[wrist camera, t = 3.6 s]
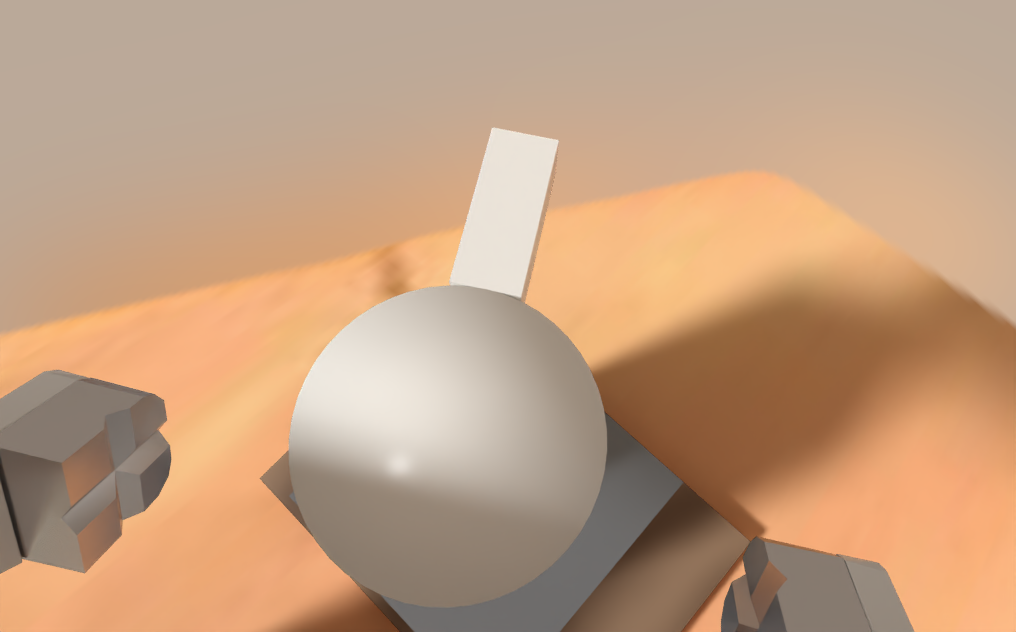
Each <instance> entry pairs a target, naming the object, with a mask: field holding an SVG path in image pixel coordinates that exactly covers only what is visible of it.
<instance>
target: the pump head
mask: <svg viewBox="0 0 1016 632" xmlns="http://www.w3.org/2000/svg"><path fill="white" fill-rule="evenodd" d="M558 144H559V140H555V139H550V138H545V137H539V136H534V135H529V134H524V133H518V132H513V131H508V130H503V129H498V128H492V131H491V134H490V138H489V142H488V145H487V149H486V152H485V156H484V159H483V163H482V167H481V170H480V174H479V178H478V181H477V184H476V188H475V192H474V195H473V199H472V202H471V206H470V209H469V213H468V216H467V220H466V224H465V227H464V231H463V234H462V238H461V241H460V245H459V249H458V252H457V256H456V259H455V263H454V266H453V270H452V274H451V277H450V281H449V282H450V286H439V287H429V288H424V289H419V290H415V291H410V292H407V293H404V294H401V295H398V296H396V297H393V298H390V299H388V300H386V301H384V302H382V303H380V304H378V305H376V306H374V307H372V308H371V309H369V310H367V311H366V312H364V313H363V314H361V315H360V316H358V317H357V318H355V319H354V320H353V321H352V322H351V323H349V324H348V325H347V326H346V327H345V328H344V329H342V330H341V331H340V332H339V333H338V334H337V335H336V336H335V338H334V339H333V340H332V341H331V342H330V343H329V344H328V345H327V346H326V348H325V349H324V350H323V352H322V353H321V354H320V356H319V357H318V358H317V360H316V361H315V363H314V365H313V366H312V368H311V370H310V372H309V374H308V375H307V377H306V379H305V381H304V383H303V386H302V388H301V391H300V393H299V396H298V398H297V401H296V405H295V409H294V413H293V416H292V421H291V428H290V435H289V467H290V475H291V483H292V486H293V490H294V494H295V498H296V502H297V504H298V507H299V509H300V512H301V514H302V516H303V519H304V521H305V523H306V525H307V527H308V528H309V530H310V532H311V534H312V535H313V537H314V539H315V540H316V542H317V543H318V544H319V546H320V547H321V548H322V549H323V551H324V552H325V553H326V554H327V556H328V557H329V558H330V559H331V560H332V561H333V562H334V563H335V564H336V565H337V566H338V567H339V568H340V569H342V570H343V571H344V572H345V573H346V574H347V575H349V576H350V577H352V578H353V579H354V580H356V581H357V582H359V583H360V584H362V585H363V586H365V587H367V588H369V589H371V590H373V591H375V592H377V593H379V594H381V595H383V596H385V597H388V598H391V599H394V600H397V601H400V602H403V603H408V604H413V605H419V606H424V607H445V608H450V607H459V606H468V605H474V604H478V603H482V602H486V601H490V600H493V599H496V598H498V597H501V596H503V595H506V594H508V593H511V592H513V591H515V590H517V589H518V588H520V587H522V586H524V585H525V584H527V583H529V582H531V581H532V580H534V579H535V578H536V577H538V576H539V575H540V574H542V573H543V572H544V571H545V570H547V569H548V568H549V567H551V566H552V565H553V564H554V563H555V562H556V561H557V560H558V559H559V558H560V557H561V556H562V555H563V554H564V552H565V551H566V550H567V549H568V548H569V547H570V545H571V544H572V543H573V541H574V540H575V539H576V537H577V536H578V535H579V533H580V532H581V530H582V528H583V527H584V525H585V523H586V521H587V519H588V518H589V516H590V514H591V512H592V510H593V507H594V504H595V502H596V499H597V497H598V494H599V492H600V488H601V484H602V480H603V476H604V472H605V464H606V455H607V427H606V420H605V413H604V407H603V404H602V400H601V396H600V393H599V389H598V387H597V384H596V382H595V380H594V377H593V375H592V373H591V370H590V369H589V367H588V365H587V363H586V362H585V360H584V358H583V357H582V355H581V353H580V352H579V351H578V349H577V348H576V347H575V345H574V344H573V343H572V342H571V340H570V339H569V338H568V337H567V336H566V335H565V334H564V333H563V332H562V331H561V330H560V329H559V328H558V327H557V326H556V325H555V324H554V323H553V322H552V321H550V320H549V319H548V318H546V317H545V316H544V315H543V314H541V313H540V312H539V311H537V310H535V309H533V308H532V307H530V306H528V305H527V304H525V300H526V295H527V291H528V287H529V283H530V279H531V274H532V270H533V266H534V262H535V258H536V253H537V249H538V245H539V241H540V237H541V232H542V228H543V224H544V220H545V216H546V212H547V207H548V203H549V199H550V195H551V191H552V186H553V182H554V178H555V171H556V162H557V153H558Z"/></svg>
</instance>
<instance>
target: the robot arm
mask: <svg viewBox="0 0 1016 632" xmlns="http://www.w3.org/2000/svg"><path fill="white" fill-rule="evenodd" d="M166 421H167V416H166V410H165V404H164V400H163V399H161V398H160V397H158V396H156V395H155V394H152V393H148V392H144V391H140V390H136V389H133V388H129V387H125V386H121V385H117V384H113V383H110V382H106V381H102V380H98V379H94V378H87V377H84V376H80V375H76V374H72V373H69V372H65V371H61V370H53V371H45V372H43V373H41V374H40V375H38V376H36V377H35V378H33V379H32V380H30V381H28V382H27V383H25V384H24V385H22V386H20V387H19V388H17V389H16V390H14V391H12V392H11V393H9V394H7V395H6V396H4V397H3V398H1V399H0V574H1V573H3V572H5V571H6V570H8V569H10V568H12V567H14V566H16V565H18V564H20V563H22V559H26V560H30V561H34V562H39V563H43V564H47V565H52V566H56V567H60V568H65V569H69V570H73V571H78V572H82V573H86V572H87V570H88V569H89V568H90V567H91V566H92V565H93V564H94V563H95V562H96V561H97V560H98V559H99V558H100V557H101V556H102V555H103V554H104V553H105V552H106V551H107V550H108V549H109V548H110V547H111V546H112V544H113V543H114V542H115V541H116V540H117V539H118V538H119V537H120V536H121V535H122V520H124V519H127V518H129V517H131V516H134V515H136V514H138V513H141V512H143V511H145V510H146V509H147V508H148V507H149V505H150V504H151V503H152V502H153V501H154V500H155V499H156V498H157V497H158V496H159V494H160V492H161V490H162V488H163V486H164V484H165V482H166V480H167V478H168V476H169V470H170V464H171V452H170V445H169V444H168V442H167V441H166V440H165V438H164V437H163V436H162V434H161V433H160V432H159V429H160V428H161V426H162V425H163V424H164V423H165V422H166ZM743 562H744V567H745V572H746V575H744V576H742V577H740V578H738V579H736V580H734V581H733V582H732V583H731V586H730V588H729V591H728V593H727V596H726V598H725V601H724V607H723V613H722V619H721V632H914V630H913V627H912V625H911V623H910V621H909V619H908V617H907V614H906V612H905V610H904V608H903V606H902V603H901V601H900V599H899V597H898V595H897V593H896V590H895V588H894V586H893V584H892V582H891V579H890V577H889V575H888V573H887V571H886V570H885V569H884V568H883V567H882V566H881V565H880V564H879V563H877V562H872V561H868V560H863V559H858V558H854V557H849V556H844V555H840V554H836V555H834V554H832V553H827V552H823V551H819V550H814V549H810V548H806V547H801V546H797V545H792V544H788V543H784V542H779V541H775V540H771V539H766V538H762V537H757V536H756V537H755V538H754V539H753V540H752V541H751V542H750V543H749V545H748V547H747V549H746V552H745V554H744V556H743Z"/></svg>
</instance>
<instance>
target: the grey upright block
mask: <svg viewBox="0 0 1016 632" xmlns="http://www.w3.org/2000/svg"><path fill="white" fill-rule="evenodd" d="M604 413H605V412H604ZM605 420H606V427H607V455H606V464H605V472H604V476H603V480H602V484H601V488H600V492H599V494H598V497H597V499H596V502H595V504H594V507H593V510H592V512H591V514H590V516H589V518H588V519H587V521H586V523H585V525H584V527H583V528H582V530H581V532H580V533H579V535H578V536H577V537H576V539H575V540H574V541H573V543H572V544H571V545H570V547H569V548H568V549H567V550H566V551H565V552H564V554H563V555H562V556H561V557H560V558H559V559H558V560H557V561H556V562H555V563H554V564H553V565H552V566H551V567H549V568H548V569H547V570H545V571H544V572H543V573H542V574H540V575H539V576H538V577H536V578H535V579H534V580H532V581H531V582H529V583H527V584H525V585H524V586H522V587H520V588H518V589H517V590H515V591H513V592H511V593H508V594H506V595H503V596H501V597H498V598H496V599H493V600H490V601H486V602H482V603H478V604H474V605H468V606H459V607H450V608H445V607H424V606H419V605H413V604H408V603H403V602H400V601H397V600H394V599H391V598H388V597H385V596H383V595H381V594H380V595H381V596H382V597H383V598H384V599H385V600H386V602H387V603H388V604H389V605H390V606H391V607H392V608H393V609H394V610H395V611H396V612H397V613H398V614H399V616H400V617H401V618H402V619H403V620H404V621H405V622H406V623H407V624H408V625H409V626H410V627H411V629H412V630H413V631H414V632H560V631H561V630H562V628H563V627H564V626H565V625H566V624H567V622H568V621H569V620H570V619H571V617H572V616H573V615H574V614H575V613H576V611H577V610H578V609H579V608H580V607H581V605H582V604H583V603H584V602H585V601H586V599H587V598H588V597H589V596H590V595H591V593H592V592H593V591H594V590H595V589H596V587H597V586H598V585H599V584H600V582H601V581H602V580H603V579H604V578H605V576H606V575H607V574H608V573H609V572H610V570H611V569H612V568H613V567H614V566H615V564H616V563H617V562H618V561H619V560H620V558H621V557H622V556H623V555H624V554H625V552H626V551H627V550H628V549H629V547H630V546H631V545H632V544H633V543H634V541H635V540H636V539H637V538H638V537H639V535H640V534H641V533H642V532H643V531H644V529H645V528H646V527H647V526H648V525H649V523H650V522H651V521H652V520H653V518H654V517H655V516H656V515H657V514H658V512H659V511H660V510H661V509H662V508H663V506H664V505H665V504H666V503H667V502H668V500H669V499H670V498H671V497H672V496H673V494H674V493H675V492H676V491H677V490H678V488H679V487H680V486H681V485H682V483H683V481H682V480H680V479H679V478H678V477H677V476H676V475H675V474H674V473H673V472H671V471H670V470H669V469H668V468H667V467H666V466H665V465H664V464H662V463H661V462H660V461H659V460H658V459H657V458H656V457H655V456H653V455H652V454H651V453H650V452H649V451H648V450H647V449H646V448H644V447H643V446H642V445H641V444H640V443H639V442H638V441H637V440H636V439H634V438H633V437H632V436H631V435H630V434H629V433H628V432H627V431H625V430H624V429H623V428H622V427H621V426H620V425H619V424H618V423H616V422H615V421H614V420H613V419H612V418H611V417H610V416H609V415H607V414H606V413H605ZM289 497H290V498H291V499H292V500H293V501H294V502H295V503H296V504H297V502H296V498H295V494H294V491H293V492H292V493H291V494H290V495H289ZM297 505H298V504H297Z"/></svg>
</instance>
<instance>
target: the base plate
mask: <svg viewBox="0 0 1016 632" xmlns="http://www.w3.org/2000/svg"><path fill="white" fill-rule="evenodd" d="M644 448H645V447H644ZM653 456H654V455H653ZM260 479H261V480H262V482H263V483H264V484H265V485H266V486H267V487H268V488H269V489H270V490H271V491H272V492H273V494H274V495H275V496H276V497H277V498H278V499H279V500H280V501H281V502H282V503H283V504H284V505H285V507H286V508H287V509H288V510H289V511H290V512H291V513H292V514H293V515H294V516H295V517H296V519H297V520H298V521H299V522H300V523H301V524H302V525H303V526H304V527H305V528H306V529H307V531H308V532H309V533H310V534H311V532H310V530H309V528H308V527H307V525H306V523H305V521H304V519H303V516H302V514H301V512H300V509H299V507H298V505H297V504H296V503H295V502H294V501H293V500H292V499H291V498H290V497H289V495H290V494H291V493H292V492H293V491H294V490H293V486H292V483H291V475H290V467H289V450H288V451H287V452H286V453H285V454H284V455H283V456H282V457H281V458H280V459H279V460H278V461H277V462H276V463H275V464H274V465H273V466H272V467H271V468H270V469H269V470H268V471H267V472H266V473H265V474H264V475H263V476H262V477H261V478H260ZM311 535H312V534H311ZM312 536H313V535H312ZM749 543H750V541H749V540H748V539H747V538H746V537H745V536H743V535H742V534H741V533H740V532H739V531H738V530H737V529H736V528H734V527H733V526H732V525H731V524H730V523H729V522H728V521H727V520H725V519H724V518H723V517H722V516H721V515H720V514H719V513H718V512H716V511H715V510H714V509H713V508H712V507H711V506H710V505H709V504H707V503H706V502H705V501H704V500H703V499H702V498H701V497H700V496H698V495H697V494H696V493H695V492H694V491H693V490H692V489H691V488H689V487H688V486H687V485H686V484H685V483H684V482H683V483H682V485H681V486H680V487H679V488H678V490H677V491H676V492H675V493H674V494H673V496H672V497H671V498H670V499H669V500H668V502H667V503H666V504H665V505H664V506H663V508H662V509H661V510H660V511H659V512H658V514H657V515H656V516H655V517H654V518H653V520H652V521H651V522H650V523H649V525H648V526H647V527H646V528H645V529H644V531H643V532H642V533H641V534H640V535H639V537H638V538H637V539H636V540H635V541H634V543H633V544H632V545H631V546H630V547H629V549H628V550H627V551H626V552H625V554H624V555H623V556H622V557H621V558H620V560H619V561H618V562H617V563H616V564H615V566H614V567H613V568H612V569H611V570H610V572H609V573H608V574H607V575H606V576H605V578H604V579H603V580H602V581H601V582H600V584H599V585H598V586H597V587H596V589H595V590H594V591H593V592H592V593H591V595H590V596H589V597H588V598H587V599H586V601H585V602H584V603H583V604H582V605H581V607H580V608H579V609H578V610H577V611H576V613H575V614H574V615H573V616H572V617H571V619H570V620H569V621H568V622H567V624H566V625H565V626H564V627H563V628H562V630H561V631H560V632H681V631H682V630H683V629H684V627H685V626H686V625H687V623H688V622H689V621H690V620H691V618H692V617H693V616H694V614H695V613H696V612H697V611H698V609H699V608H700V607H701V605H702V604H703V603H704V602H705V600H706V599H707V598H708V596H709V595H710V594H711V593H712V591H713V590H714V589H715V587H716V586H717V585H718V584H719V582H720V581H721V580H722V578H723V577H724V576H725V575H726V573H727V572H728V571H729V569H730V568H731V567H732V566H733V564H734V563H735V562H736V560H737V559H738V558H739V556H740V555H741V554H742V553H743V551H744V550H745V549H746V547H747V546H748V545H749ZM351 578H352V577H351ZM352 580H353V581H354V582H355V583H356V584H357V585H358V586H359V587H360V588H361V589H362V590H363V592H364V593H365V594H366V595H367V596H368V597H369V598H370V599H371V600H372V601H373V602H374V604H375V605H376V606H377V607H378V608H379V609H380V610H381V611H382V612H383V613H384V614H385V616H386V617H387V618H388V619H389V620H390V621H391V622H392V623H393V624H394V625H395V626H396V627H397V629H398V630H399V631H400V632H414V631H413V630H412V629H411V627H410V626H409V625H408V624H407V623H406V622H405V621H404V620H403V619H402V618H401V617H400V616H399V614H398V613H397V612H396V611H395V610H394V609H393V608H392V607H391V606H390V605H389V604H388V603H387V602H386V600H385V599H384V598H383V597H382V596H381V595H380V594H379V593H377V592H375V591H373V590H371V589H369V588H367V587H365V586H363V585H362V584H360V583H359V582H357V581H356V580H354V579H353V578H352Z"/></svg>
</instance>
